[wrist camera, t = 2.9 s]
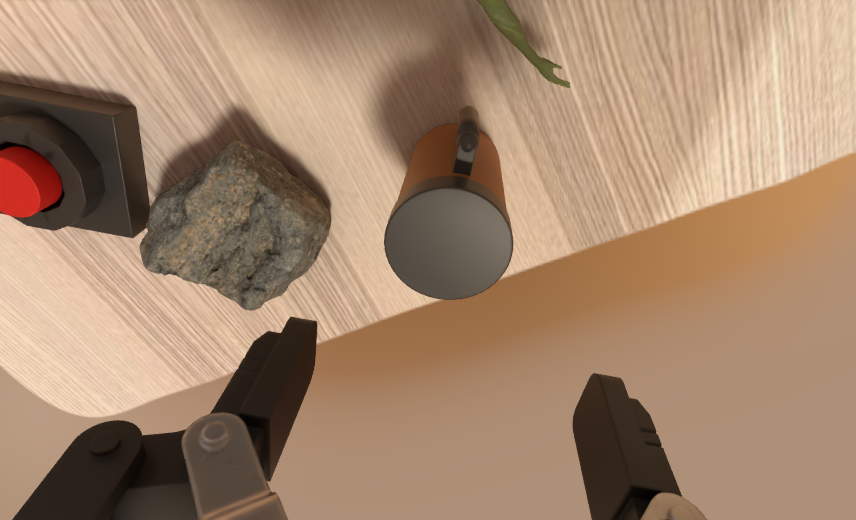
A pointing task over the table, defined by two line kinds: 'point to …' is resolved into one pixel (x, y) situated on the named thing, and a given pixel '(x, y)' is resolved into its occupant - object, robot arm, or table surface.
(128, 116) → the control block
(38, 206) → the button
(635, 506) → the robot arm
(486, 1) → the figurine
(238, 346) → the table surface
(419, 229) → the orange canister with lid
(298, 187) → the rock
